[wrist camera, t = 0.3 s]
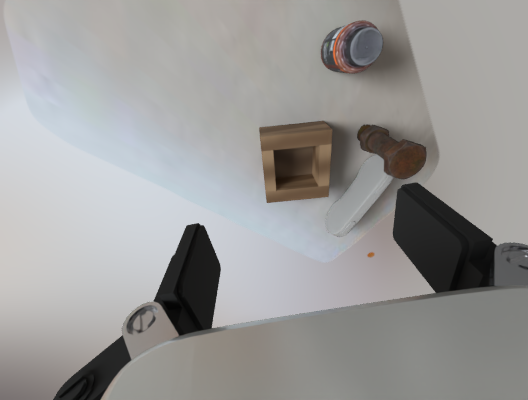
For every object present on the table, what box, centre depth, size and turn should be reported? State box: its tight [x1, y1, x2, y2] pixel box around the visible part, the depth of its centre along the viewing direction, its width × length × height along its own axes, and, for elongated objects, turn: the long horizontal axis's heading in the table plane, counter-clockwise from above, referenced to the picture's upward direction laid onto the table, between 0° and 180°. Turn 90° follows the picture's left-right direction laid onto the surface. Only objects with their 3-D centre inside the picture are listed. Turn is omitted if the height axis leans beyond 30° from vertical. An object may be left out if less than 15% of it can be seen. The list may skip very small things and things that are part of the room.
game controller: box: [325, 154, 394, 237], centre depth 48 cm, size 20×2×8 cm, turn 154°
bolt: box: [357, 125, 426, 179], centre depth 39 cm, size 6×5×15 cm
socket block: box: [259, 121, 332, 203], centre depth 45 cm, size 13×12×6 cm
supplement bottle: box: [321, 21, 383, 73], centre depth 33 cm, size 6×6×11 cm
